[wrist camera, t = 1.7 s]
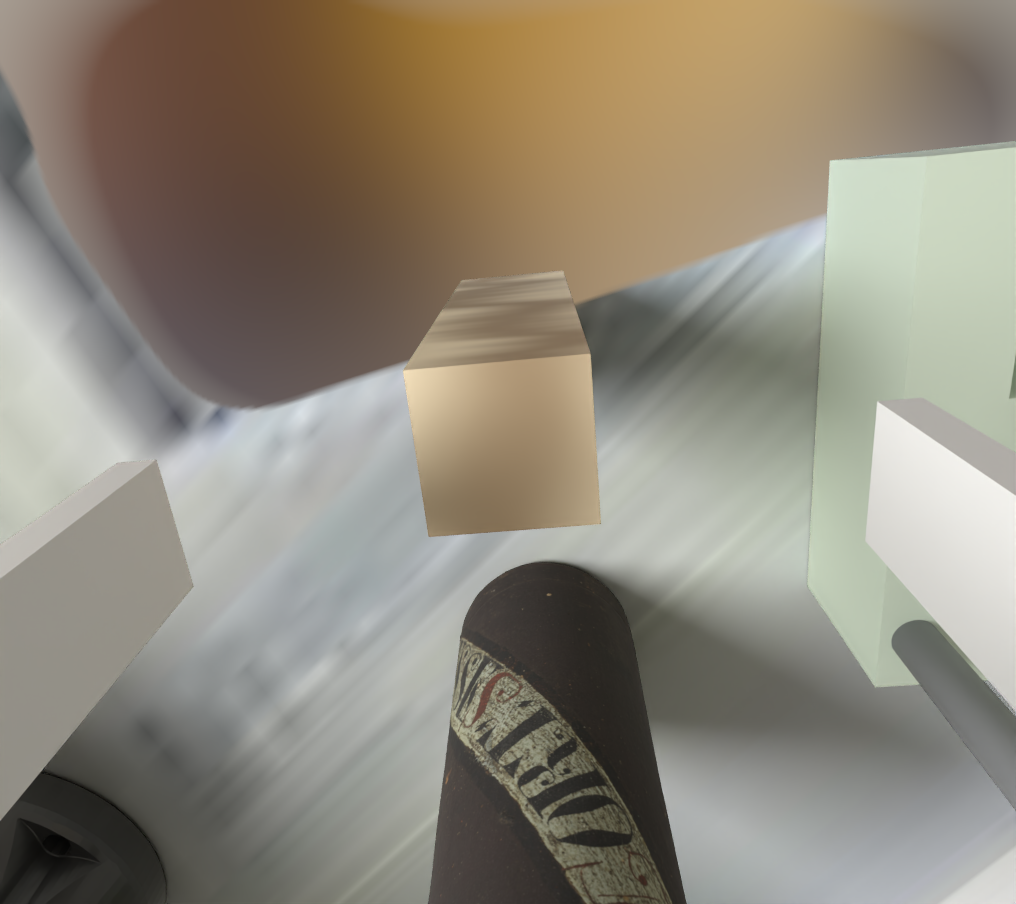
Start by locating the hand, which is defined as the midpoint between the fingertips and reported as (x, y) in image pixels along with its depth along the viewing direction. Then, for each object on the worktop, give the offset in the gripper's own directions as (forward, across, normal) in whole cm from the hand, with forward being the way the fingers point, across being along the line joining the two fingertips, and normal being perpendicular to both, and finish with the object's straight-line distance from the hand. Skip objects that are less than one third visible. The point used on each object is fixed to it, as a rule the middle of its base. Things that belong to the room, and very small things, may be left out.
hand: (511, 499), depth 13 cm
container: (+17, 0, -15) cm, 23 cm away
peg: (+17, 0, 0) cm, 17 cm away
